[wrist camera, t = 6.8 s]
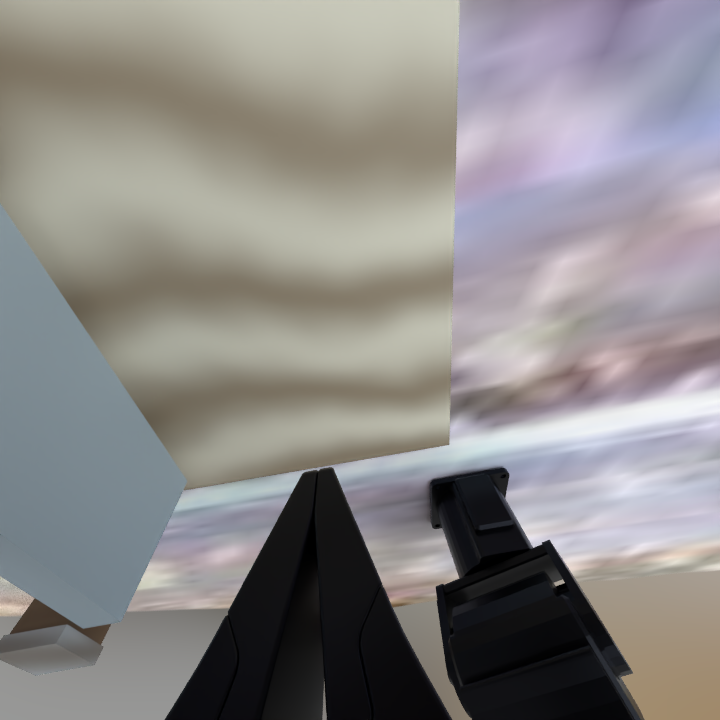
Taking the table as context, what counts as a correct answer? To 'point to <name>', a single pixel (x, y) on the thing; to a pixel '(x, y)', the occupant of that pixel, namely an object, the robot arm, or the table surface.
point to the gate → (71, 455)
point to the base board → (246, 214)
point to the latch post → (50, 642)
